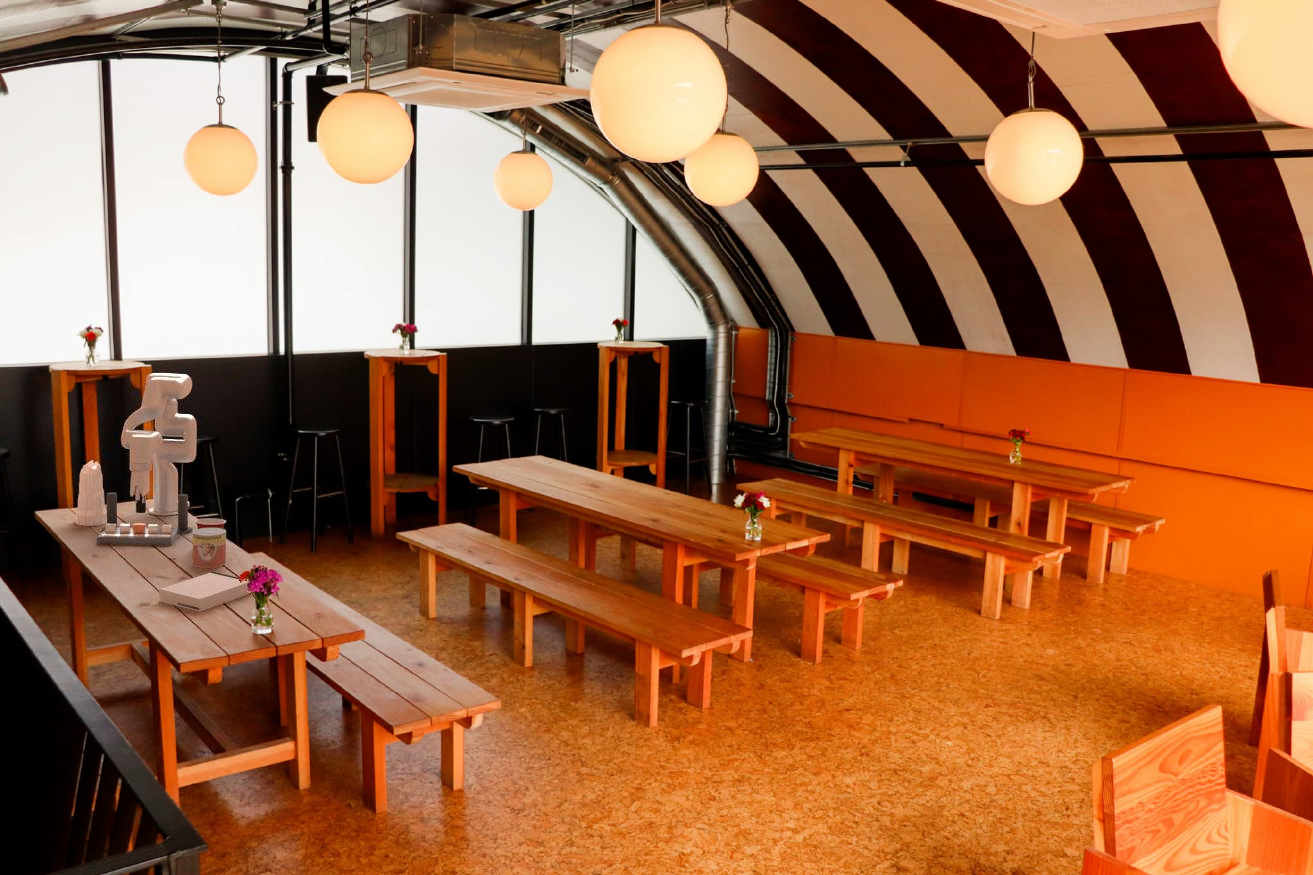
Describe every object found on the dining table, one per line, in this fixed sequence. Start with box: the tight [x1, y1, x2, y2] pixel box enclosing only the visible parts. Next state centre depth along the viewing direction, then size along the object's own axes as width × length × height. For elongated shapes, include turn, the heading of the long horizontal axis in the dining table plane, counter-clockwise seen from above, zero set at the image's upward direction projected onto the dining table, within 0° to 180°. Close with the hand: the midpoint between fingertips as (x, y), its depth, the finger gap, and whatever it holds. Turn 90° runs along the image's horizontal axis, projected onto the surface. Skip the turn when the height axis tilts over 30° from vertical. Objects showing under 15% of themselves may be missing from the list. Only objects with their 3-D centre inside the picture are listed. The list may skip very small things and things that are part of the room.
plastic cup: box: [194, 517, 227, 529], centre depth 394 cm, size 11×11×12 cm
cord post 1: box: [101, 492, 120, 533], centre depth 410 cm, size 7×7×15 cm
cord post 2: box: [177, 493, 193, 535], centre depth 416 cm, size 7×7×15 cm
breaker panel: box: [96, 523, 181, 546], centre depth 401 cm, size 14×26×6 cm, turn 103°
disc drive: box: [158, 571, 250, 612], centre depth 345 cm, size 18×22×5 cm
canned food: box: [192, 528, 227, 569], centre depth 379 cm, size 11×11×12 cm
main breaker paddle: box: [132, 522, 147, 532], centre depth 401 cm, size 2×4×3 cm, turn 103°
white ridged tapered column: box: [75, 459, 107, 527], centre depth 417 cm, size 11×11×25 cm
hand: (140, 512), depth 402 cm, fingers closed
